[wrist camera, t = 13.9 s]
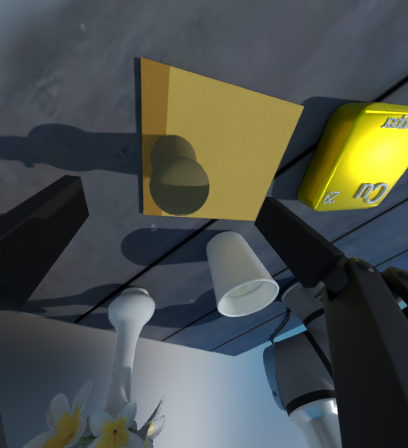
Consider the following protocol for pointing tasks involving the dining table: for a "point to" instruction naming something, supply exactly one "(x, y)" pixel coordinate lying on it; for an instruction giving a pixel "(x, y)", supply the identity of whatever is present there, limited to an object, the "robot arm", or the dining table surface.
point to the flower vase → (117, 396)
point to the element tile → (357, 157)
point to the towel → (216, 136)
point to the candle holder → (238, 276)
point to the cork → (177, 177)
